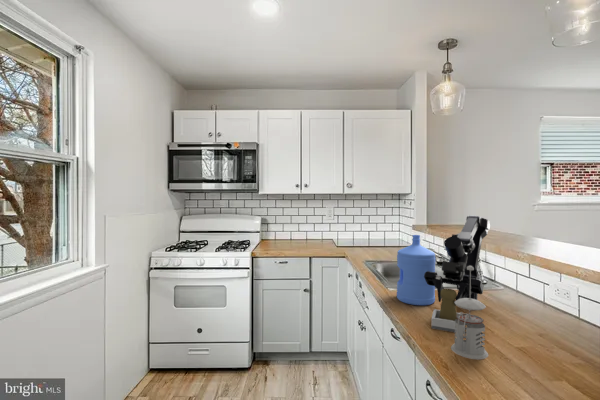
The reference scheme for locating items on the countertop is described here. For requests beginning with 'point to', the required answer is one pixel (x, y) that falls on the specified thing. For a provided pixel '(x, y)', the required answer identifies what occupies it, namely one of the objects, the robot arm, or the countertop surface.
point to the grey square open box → (442, 322)
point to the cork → (448, 305)
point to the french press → (469, 329)
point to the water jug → (415, 274)
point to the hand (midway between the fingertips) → (447, 303)
